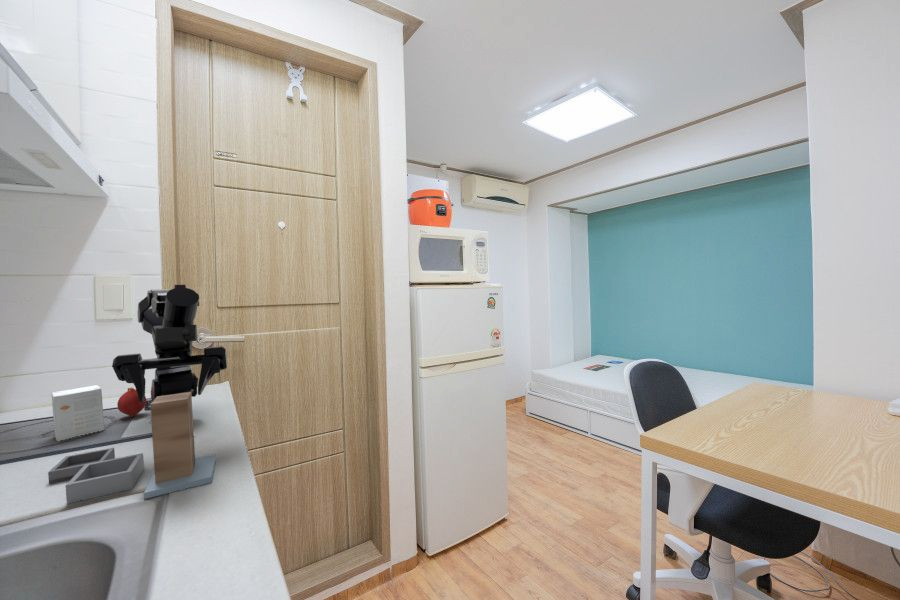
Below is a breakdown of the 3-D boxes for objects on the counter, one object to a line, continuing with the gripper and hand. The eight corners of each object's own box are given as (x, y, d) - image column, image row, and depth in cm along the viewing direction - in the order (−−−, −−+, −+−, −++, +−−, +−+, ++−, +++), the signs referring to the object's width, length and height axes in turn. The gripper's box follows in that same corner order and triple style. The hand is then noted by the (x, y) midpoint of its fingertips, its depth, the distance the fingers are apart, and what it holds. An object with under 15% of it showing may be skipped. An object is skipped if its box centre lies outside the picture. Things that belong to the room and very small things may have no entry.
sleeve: (86, 480, 63) (85, 464, 63) (144, 468, 67) (143, 452, 67) (66, 503, 56) (65, 485, 56) (132, 488, 60) (131, 471, 60)
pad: (157, 471, 66) (157, 466, 66) (216, 458, 70) (215, 453, 70) (144, 499, 57) (143, 492, 57) (211, 482, 61) (211, 476, 61)
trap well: (66, 466, 69) (65, 456, 69) (114, 457, 72) (114, 447, 72) (48, 483, 63) (48, 472, 63) (102, 472, 66) (101, 461, 66)
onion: (132, 412, 99) (131, 384, 99) (152, 412, 99) (151, 383, 99) (112, 420, 93) (110, 390, 93) (133, 420, 93) (131, 390, 93)
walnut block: (161, 470, 64) (156, 396, 63) (195, 463, 66) (191, 391, 66) (155, 483, 60) (150, 404, 59) (191, 475, 62) (187, 398, 62)
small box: (101, 425, 90) (98, 384, 90) (105, 430, 87) (102, 387, 86) (54, 436, 84) (51, 392, 83) (56, 442, 80) (52, 396, 80)
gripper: (111, 315, 70) (95, 383, 61) (223, 310, 80) (223, 369, 71) (125, 348, 78) (112, 414, 69) (226, 340, 87) (227, 397, 78)
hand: (171, 397), depth 71 cm, fingers open, 9 cm apart
